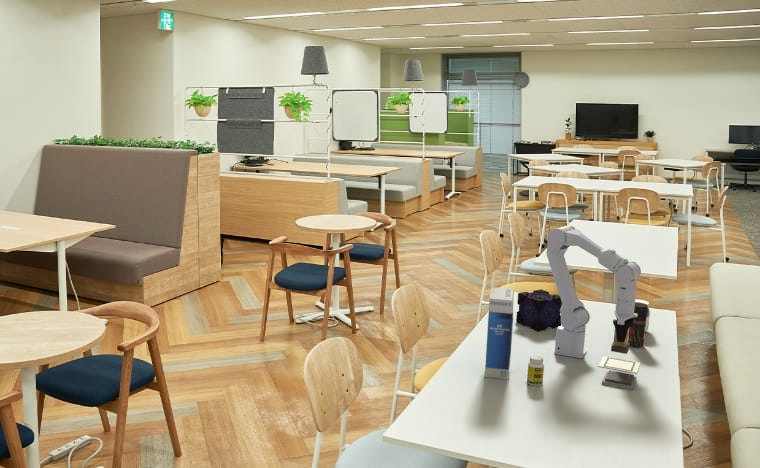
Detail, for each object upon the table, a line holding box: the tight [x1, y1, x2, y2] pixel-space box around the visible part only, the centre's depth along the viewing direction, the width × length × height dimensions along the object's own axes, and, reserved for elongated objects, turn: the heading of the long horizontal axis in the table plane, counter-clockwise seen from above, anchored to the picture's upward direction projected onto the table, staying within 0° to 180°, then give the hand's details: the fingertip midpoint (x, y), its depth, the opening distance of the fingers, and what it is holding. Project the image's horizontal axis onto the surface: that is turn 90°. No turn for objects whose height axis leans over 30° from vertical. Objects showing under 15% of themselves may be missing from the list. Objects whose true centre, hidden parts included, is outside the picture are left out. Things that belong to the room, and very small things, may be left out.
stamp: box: [610, 328, 630, 355], centre depth 234 cm, size 5×5×8 cm
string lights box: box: [484, 287, 515, 380], centre depth 228 cm, size 13×8×26 cm, turn 168°
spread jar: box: [635, 298, 651, 335], centre depth 272 cm, size 12×11×12 cm
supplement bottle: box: [526, 354, 545, 387], centre depth 221 cm, size 5×5×8 cm
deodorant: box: [628, 302, 649, 349], centre depth 256 cm, size 6×6×15 cm
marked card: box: [597, 355, 641, 374], centre depth 238 cm, size 12×10×1 cm
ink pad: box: [601, 369, 637, 391], centre depth 224 cm, size 9×9×2 cm
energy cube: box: [515, 288, 562, 332], centre depth 276 cm, size 12×12×12 cm
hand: (621, 339), depth 234 cm, fingers closed on stamp, 4 cm apart
